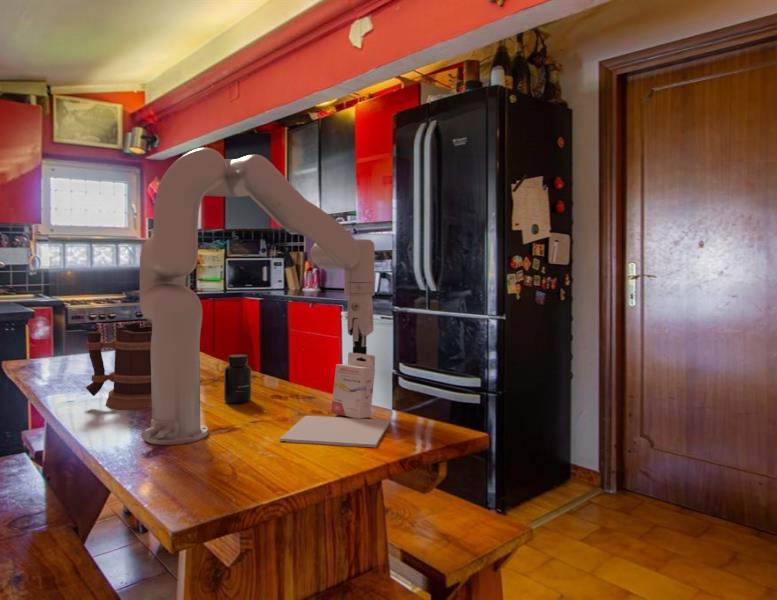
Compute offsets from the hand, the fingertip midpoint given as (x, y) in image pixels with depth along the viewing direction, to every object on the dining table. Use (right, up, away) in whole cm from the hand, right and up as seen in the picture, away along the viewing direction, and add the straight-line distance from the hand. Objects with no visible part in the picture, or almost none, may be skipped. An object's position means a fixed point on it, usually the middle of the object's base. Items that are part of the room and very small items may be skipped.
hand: (359, 362), depth 147 cm
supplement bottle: (-32, -11, +6) cm, 34 cm away
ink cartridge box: (-2, -12, -9) cm, 15 cm away
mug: (-58, -11, +4) cm, 59 cm away
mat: (-4, -13, -20) cm, 24 cm away
